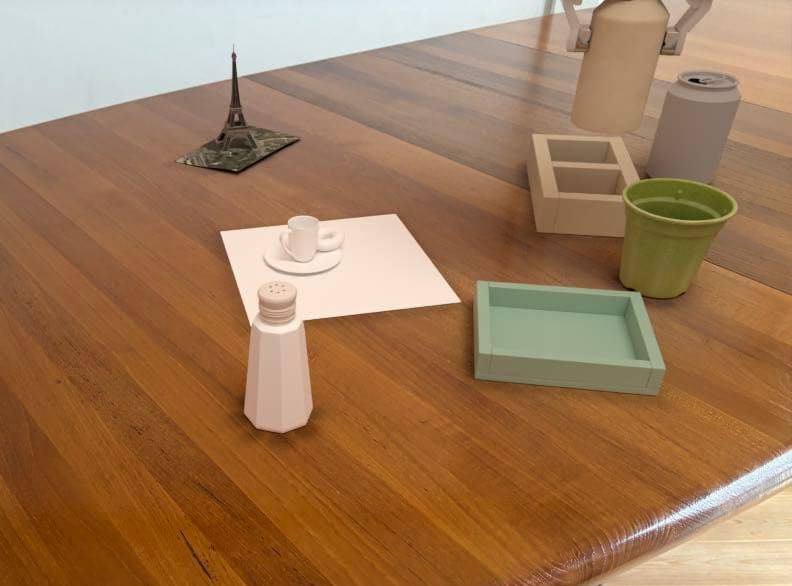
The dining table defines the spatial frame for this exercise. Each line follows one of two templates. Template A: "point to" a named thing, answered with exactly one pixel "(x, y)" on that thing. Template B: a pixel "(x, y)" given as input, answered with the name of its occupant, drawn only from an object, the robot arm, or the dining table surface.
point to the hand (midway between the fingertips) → (621, 52)
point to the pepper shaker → (278, 363)
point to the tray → (565, 338)
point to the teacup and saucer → (337, 266)
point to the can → (694, 126)
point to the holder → (579, 184)
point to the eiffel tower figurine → (237, 139)
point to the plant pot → (669, 233)
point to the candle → (619, 65)
